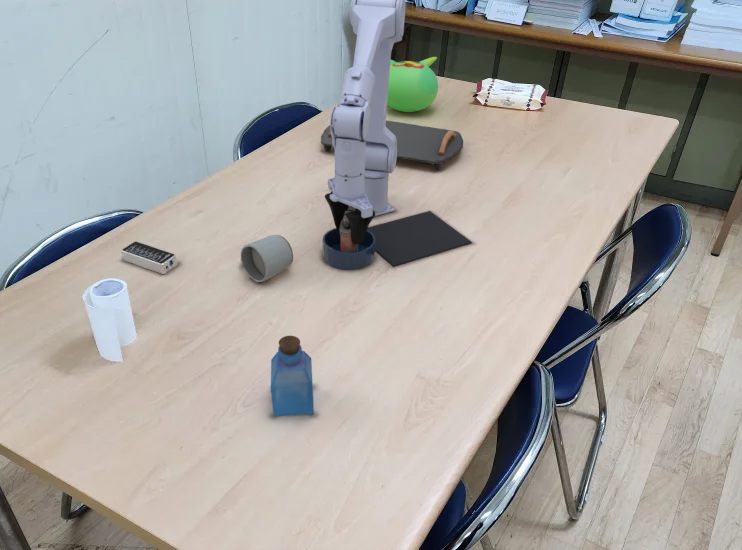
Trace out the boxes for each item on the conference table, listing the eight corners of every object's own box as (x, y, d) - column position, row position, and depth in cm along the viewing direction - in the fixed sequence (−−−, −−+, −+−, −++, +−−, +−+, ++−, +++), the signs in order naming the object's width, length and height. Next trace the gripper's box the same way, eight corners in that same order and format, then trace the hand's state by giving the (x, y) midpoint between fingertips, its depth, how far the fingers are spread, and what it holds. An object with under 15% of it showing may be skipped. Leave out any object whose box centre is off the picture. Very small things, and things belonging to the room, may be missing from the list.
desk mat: (354, 232, 142) (354, 230, 141) (429, 212, 149) (429, 210, 149) (393, 266, 131) (393, 265, 131) (471, 243, 139) (471, 241, 139)
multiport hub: (137, 250, 134) (135, 240, 133) (178, 264, 131) (176, 254, 129) (122, 260, 132) (120, 250, 130) (164, 274, 128) (161, 264, 126)
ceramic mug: (297, 271, 129) (295, 237, 124) (267, 288, 125) (264, 253, 120) (261, 253, 135) (257, 220, 129) (231, 269, 130) (226, 235, 125)
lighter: (352, 265, 131) (353, 221, 124) (336, 263, 131) (336, 219, 125) (360, 246, 137) (361, 202, 130) (345, 244, 137) (345, 200, 130)
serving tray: (469, 143, 180) (472, 121, 176) (449, 176, 164) (451, 152, 160) (341, 123, 190) (341, 101, 186) (310, 152, 174) (309, 129, 170)
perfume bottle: (274, 388, 103) (268, 330, 95) (312, 387, 104) (310, 328, 96) (273, 416, 99) (267, 356, 91) (313, 414, 99) (311, 355, 91)
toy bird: (374, 116, 194) (376, 65, 184) (381, 98, 206) (383, 48, 197) (433, 121, 192) (438, 69, 182) (437, 102, 204) (442, 52, 195)
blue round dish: (314, 250, 136) (313, 233, 133) (358, 238, 140) (358, 221, 137) (338, 275, 129) (338, 257, 126) (384, 261, 133) (385, 244, 130)
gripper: (313, 160, 125) (315, 223, 134) (350, 190, 116) (349, 255, 125) (345, 154, 128) (345, 216, 137) (383, 182, 118) (380, 247, 127)
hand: (349, 234), depth 131 cm, fingers closed on lighter, 6 cm apart
